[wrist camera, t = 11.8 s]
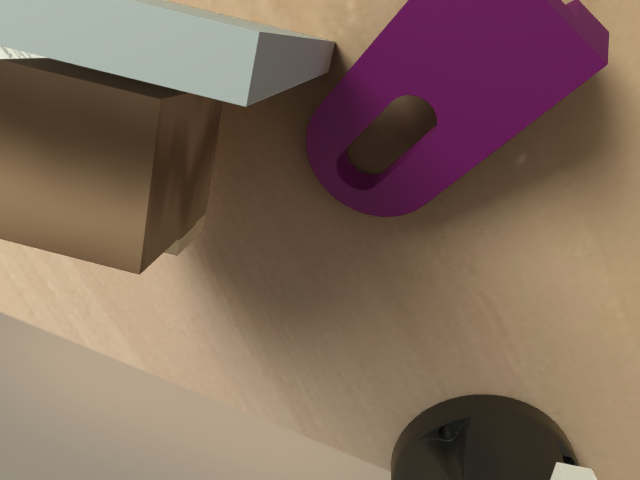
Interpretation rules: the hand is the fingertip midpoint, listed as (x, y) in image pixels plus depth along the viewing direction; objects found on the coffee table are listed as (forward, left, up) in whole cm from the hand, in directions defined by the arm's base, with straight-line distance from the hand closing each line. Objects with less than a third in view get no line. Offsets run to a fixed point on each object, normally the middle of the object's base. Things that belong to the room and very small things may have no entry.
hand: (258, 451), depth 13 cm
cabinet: (+1, +11, -22) cm, 25 cm away
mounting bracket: (+7, -4, -30) cm, 31 cm away
